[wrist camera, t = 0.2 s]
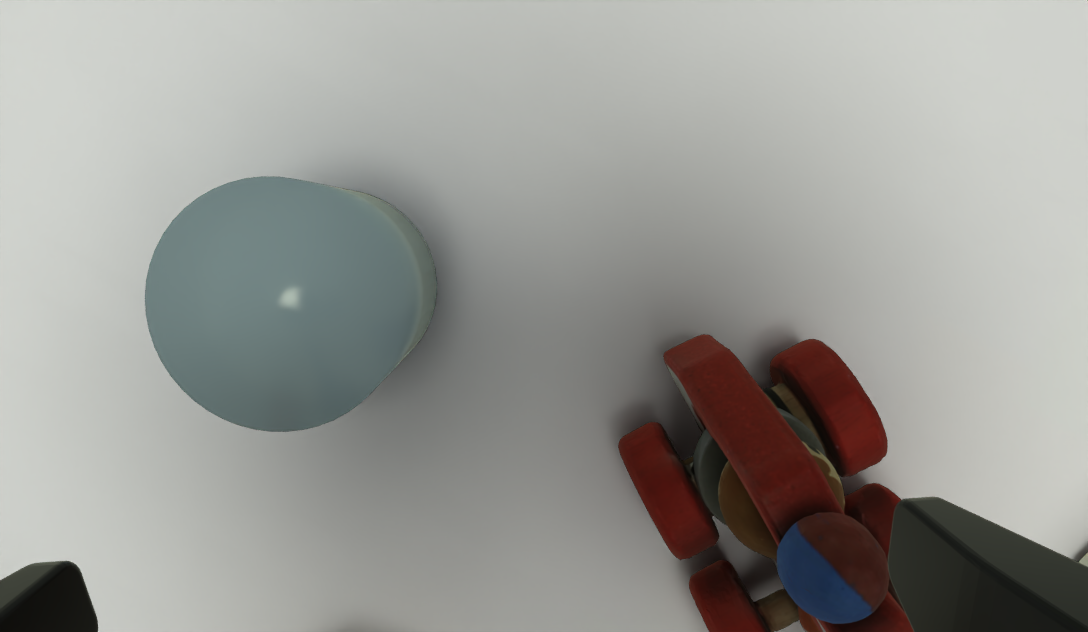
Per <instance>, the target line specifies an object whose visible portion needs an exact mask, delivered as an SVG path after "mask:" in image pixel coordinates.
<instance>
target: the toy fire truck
mask: <svg viewBox="0 0 1088 632" xmlns="http://www.w3.org/2000/svg"><path fill="white" fill-rule="evenodd" d="M663 357H664V361H665V364H666V366H667V368H668V370H669V372H670V374H671V376H672V377H673V379H674V381H675V383H676V385H677V387H678V389H679V391H680V392H681V394H682V396H683V398H684V400H685V402H686V404H687V405H688V407H689V409H690V410H691V412H692V414H693V416H694V418H695V420H696V422H697V424H698V426H699V428H700V429H701V431H702V433H703V434H702V435H701V437H700V439H699V441H698V444H697V446H696V449H695V452H694V455H693V456H692V457H690V458H688V459H686V460H684V461H683V460H681V459H680V458H679V456H678V454H677V452H676V451H675V449H674V447H673V445H672V443H671V441H670V440H669V438H668V436H667V434H666V432H665V430H664V429H663V427H662V426H661V424H659V423H657V422H650V423H647V424H645V425H643V426H641V427H640V428H638V429H636V430H634V431H632V432H631V433H629V434H627V435H625V436H623V437H622V438H621V439H620V441H619V444H618V448H619V452H620V455H621V457H622V459H623V462H624V464H625V466H626V468H627V471H628V473H629V475H630V477H631V479H632V481H633V483H634V485H635V487H636V489H637V491H638V493H639V495H640V497H641V499H642V501H643V503H644V505H645V507H646V509H647V511H648V513H649V514H650V516H651V518H652V520H653V522H654V524H655V525H656V527H657V529H658V531H659V533H660V534H661V536H662V538H663V540H664V541H665V543H666V545H667V546H668V548H669V550H670V551H671V552H672V554H673V555H674V556H675V557H677V558H678V559H680V560H682V559H688V558H691V557H692V556H694V555H697V554H699V553H700V552H702V551H705V550H706V549H708V548H710V547H712V546H714V545H716V544H717V541H718V539H719V533H718V530H717V528H716V525H715V523H714V521H713V519H712V516H715V517H716V518H717V519H719V520H720V521H721V522H723V523H724V524H726V525H727V526H728V527H729V529H730V530H731V531H732V533H733V534H734V535H735V536H736V537H737V538H738V540H739V541H740V542H742V543H743V544H744V545H745V546H747V547H748V548H750V549H751V550H753V551H755V552H757V553H759V554H761V555H764V556H766V557H768V558H772V560H773V562H774V564H775V566H776V567H777V569H778V574H779V577H780V580H781V582H782V584H783V586H784V587H785V590H783V589H781V590H779V591H776V592H774V593H772V594H770V595H769V596H767V597H765V598H762V599H760V600H758V601H756V602H753V601H752V599H751V597H750V596H749V594H748V592H747V590H746V589H745V587H744V585H743V583H742V581H741V580H740V578H739V576H738V574H737V572H736V571H735V569H734V567H733V565H732V564H730V563H729V562H728V561H725V560H718V561H716V562H715V563H713V564H711V565H709V566H707V567H705V568H704V569H702V570H700V571H698V572H696V573H695V574H694V575H692V576H691V578H690V580H689V589H690V591H691V594H692V596H693V599H694V600H695V603H696V606H697V608H698V610H699V612H700V614H701V616H702V618H703V620H704V622H705V624H706V626H707V628H708V630H709V632H774V631H778V630H781V629H783V628H785V627H787V626H789V625H791V624H792V623H793V622H796V621H798V620H800V623H801V625H802V627H803V629H804V631H805V632H914V631H913V629H912V626H911V624H910V622H909V620H908V618H907V615H906V613H905V611H904V609H903V607H902V604H901V602H900V600H899V598H898V596H897V593H896V591H895V589H894V587H893V585H892V582H891V579H890V576H889V571H888V553H889V545H890V537H891V529H892V521H893V514H894V509H895V507H896V505H897V503H898V502H899V501H901V499H900V498H899V497H898V496H897V495H896V494H894V493H893V492H892V491H891V490H889V489H888V488H886V487H884V486H882V485H880V484H877V483H872V484H867V485H865V486H864V487H862V488H860V489H859V490H857V491H855V492H853V493H851V494H849V495H847V496H845V497H844V491H843V487H842V483H841V480H840V478H839V476H841V477H846V476H853V475H855V474H857V473H858V472H860V471H862V470H864V469H866V468H868V467H870V466H872V465H875V464H877V463H878V462H880V461H881V460H882V458H883V457H885V456H886V453H887V437H886V433H885V430H884V427H883V425H882V422H881V419H880V417H879V415H878V413H877V411H876V409H875V407H874V406H873V404H872V402H871V400H870V399H869V397H868V396H867V394H866V393H865V391H864V390H863V388H862V387H861V385H860V383H859V382H858V380H857V379H856V377H855V376H854V375H853V373H852V372H851V371H850V369H849V368H848V367H847V365H846V364H845V363H844V362H843V361H842V359H841V358H840V357H839V356H838V355H837V354H836V353H835V352H834V351H833V350H832V349H831V348H829V347H828V346H827V345H825V344H824V343H823V342H821V341H819V340H816V339H809V340H805V341H802V342H800V343H798V344H796V345H794V346H792V347H790V348H788V349H786V350H785V351H783V352H781V353H779V354H778V355H776V356H775V357H774V358H773V359H772V361H771V363H770V375H771V379H772V382H773V384H774V387H772V388H765V389H763V390H762V389H761V388H760V387H759V385H758V384H757V383H756V381H755V380H754V379H753V378H752V376H751V375H750V374H749V373H748V371H747V370H746V369H745V367H744V366H743V365H742V363H741V362H740V361H739V359H738V358H737V357H736V356H735V355H734V354H733V353H732V352H731V351H730V350H729V349H727V348H726V347H724V346H723V345H722V344H720V343H719V342H718V341H716V340H715V339H714V338H713V337H712V336H710V335H704V334H703V335H700V336H697V337H695V338H692V339H690V340H688V341H686V342H684V343H682V344H680V345H678V346H676V347H673V348H671V349H670V350H668V351H666V352H665V353H664V355H663ZM838 475H839V476H838Z"/></svg>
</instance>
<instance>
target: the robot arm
mask: <svg viewBox="0 0 1088 632" xmlns="http://www.w3.org/2000/svg"><path fill="white" fill-rule="evenodd" d="M888 571H889V576H890V579H891V582H892V585H893V587H894V589H895V591H896V593H897V596H898V598H899V600H900V602H901V604H902V607H903V609H904V611H905V613H906V615H907V618H908V620H909V622H910V624H911V626H912V629H913V631H914V632H1088V567H1087V566H1085V565H1083V564H1081V563H1079V562H1077V561H1074V560H1072V559H1070V558H1068V557H1066V556H1064V555H1061V554H1059V553H1057V552H1055V551H1053V550H1051V549H1049V548H1046V547H1044V546H1042V545H1040V544H1038V543H1036V542H1034V541H1031V540H1029V539H1027V538H1025V537H1023V536H1021V535H1019V534H1016V533H1014V532H1012V531H1010V530H1008V529H1006V528H1003V527H1001V526H999V525H997V524H995V523H993V522H991V521H988V520H986V519H984V518H982V517H980V516H978V515H976V514H973V513H971V512H969V511H967V510H965V509H963V508H961V507H958V506H956V505H954V504H952V503H950V502H948V501H945V500H943V499H941V498H938V497H922V498H909V499H902V500H901V501H899V502H898V503H897V505H896V507H895V509H894V514H893V521H892V529H891V537H890V545H889V553H888ZM0 632H98V621H97V616H96V614H95V611H94V608H93V605H92V602H91V599H90V596H89V593H88V591H87V588H86V585H85V582H84V579H83V576H82V573H81V571H80V569H79V568H78V566H77V565H76V564H74V563H73V562H70V561H56V562H42V563H34V564H30V565H28V566H26V567H24V568H22V569H20V570H18V571H16V572H15V573H13V574H11V575H9V576H7V577H6V578H4V579H2V580H0Z"/></svg>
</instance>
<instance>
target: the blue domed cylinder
mask: <svg viewBox="0 0 1088 632" xmlns="http://www.w3.org/2000/svg"><path fill="white" fill-rule="evenodd" d="M436 295H437V280H436V272H435V267H434V263H433V259H432V256H431V253H430V251H429V249H428V246H427V244H426V242H425V241H424V239H423V237H422V235H421V234H420V232H419V231H418V230H417V228H416V227H415V226H414V224H413V223H412V222H411V221H410V220H409V219H408V218H407V217H406V216H405V215H404V214H403V213H401V212H400V211H399V210H397V209H396V208H395V207H394V206H392V205H390V204H389V203H387V202H385V201H383V200H381V199H379V198H377V197H374V196H372V195H369V194H366V193H362V192H359V191H354V190H349V189H344V188H338V187H333V186H328V185H323V184H318V183H313V182H308V181H303V180H297V179H291V178H284V177H254V178H245V179H241V180H237V181H233V182H230V183H227V184H224V185H222V186H219V187H217V188H214V189H212V190H211V191H209V192H207V193H205V194H204V195H202V196H200V197H198V198H197V199H196V200H195V201H193V202H192V203H191V204H189V205H188V206H187V207H186V208H184V209H183V211H182V212H181V213H180V214H179V215H178V216H177V217H176V218H175V219H174V220H173V221H172V222H171V224H170V225H169V227H168V228H167V229H166V231H165V232H164V234H163V235H162V237H161V239H160V241H159V243H158V245H157V247H156V249H155V251H154V254H153V257H152V259H151V262H150V266H149V270H148V275H147V279H146V290H145V306H146V317H147V322H148V328H149V332H150V335H151V338H152V341H153V344H154V347H155V349H156V351H157V353H158V355H159V357H160V359H161V362H162V363H163V365H164V366H165V368H166V369H167V371H168V373H169V374H170V376H171V377H172V378H173V379H174V380H175V382H176V383H177V384H178V385H179V386H180V388H181V389H182V390H183V391H184V392H185V393H186V394H187V395H189V396H190V397H191V398H192V399H193V400H194V401H195V402H197V403H198V404H199V405H201V406H202V407H203V408H205V409H206V410H208V411H209V412H211V413H213V414H215V415H217V416H218V417H220V418H222V419H224V420H227V421H229V422H232V423H234V424H237V425H240V426H244V427H248V428H251V429H256V430H263V431H272V432H288V431H297V430H304V429H308V428H312V427H316V426H320V425H322V424H325V423H327V422H330V421H333V420H335V419H337V418H339V417H340V416H342V415H344V414H346V413H347V412H349V411H350V410H352V409H353V408H354V407H356V406H357V405H359V404H360V403H361V402H362V401H363V400H364V399H365V398H366V397H367V396H368V395H369V394H370V393H372V392H373V391H374V389H375V388H376V387H377V386H378V385H379V384H380V383H381V382H382V381H383V380H384V379H385V378H386V377H387V376H388V375H389V374H390V373H391V372H392V371H393V370H394V369H395V367H396V366H397V365H398V364H399V363H400V362H401V361H402V360H403V359H404V358H405V357H406V356H407V355H408V354H409V353H410V352H411V351H412V350H413V349H414V347H415V346H416V345H417V344H418V342H419V341H420V340H421V338H422V337H423V335H424V333H425V331H426V330H427V328H428V326H429V323H430V321H431V318H432V315H433V311H434V308H435V303H436Z"/></svg>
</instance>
